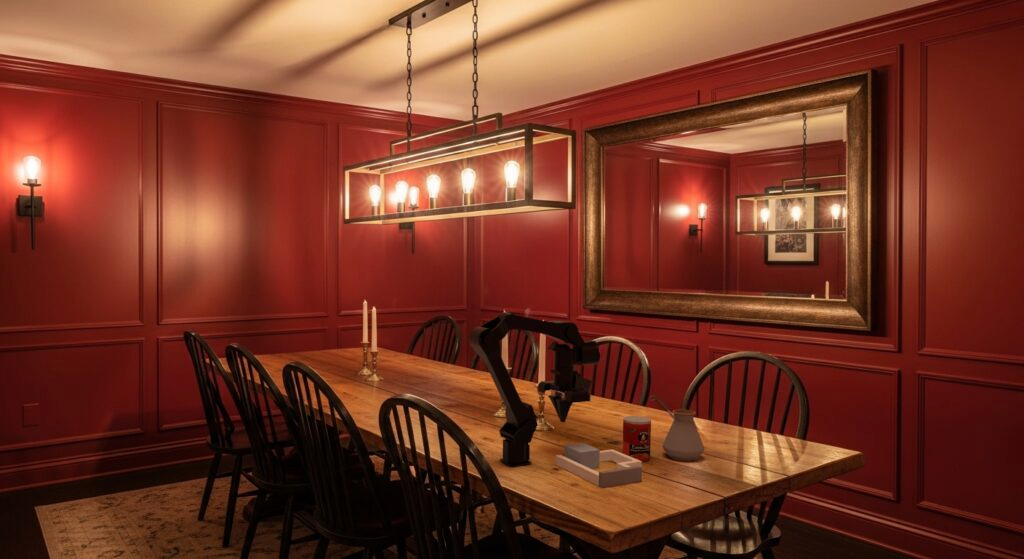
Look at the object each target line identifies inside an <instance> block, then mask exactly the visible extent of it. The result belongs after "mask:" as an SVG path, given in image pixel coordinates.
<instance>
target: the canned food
mask: <svg viewBox="0 0 1024 559" xmlns="http://www.w3.org/2000/svg"><path fill="white" fill-rule="evenodd" d="M622 421H623V422H622V454H625V455H627V456H630V457H632V458H635V459H637V460H640V461H642V462H646V461H649V460H650V457H651V444H652V443H651V442H652V440H651V439H652V438H651V436H652V419H651V418H649V417H647V416H642V415H640V416H639V415H626V416H624V417H623V420H622Z"/></svg>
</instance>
